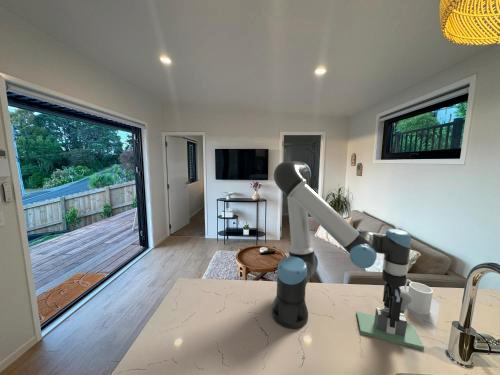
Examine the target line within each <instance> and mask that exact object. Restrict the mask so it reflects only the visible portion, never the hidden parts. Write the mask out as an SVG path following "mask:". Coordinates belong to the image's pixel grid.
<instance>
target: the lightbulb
mask: <svg viewBox="0 0 500 375" xmlns="http://www.w3.org/2000/svg"><path fill="white" fill-rule="evenodd" d="M400 289H401V293H400V297H402V298H403V300H402V303H401V311H400V313H403V314H404V315H405V310H406V309H407V307H408V306H407V305H408V304H410V302H411V296H410V294H409V293H408V290H407V291H405V290H404V289H403V288H400Z"/></svg>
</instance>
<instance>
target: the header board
mask: <svg viewBox="0 0 500 375" xmlns="http://www.w3.org/2000/svg"><path fill="white" fill-rule="evenodd" d="M356 318H357V323H358V329H359V334H361V335H365V336H368V337H369V336H370V337H372V338H377V339H379V340H384V341H387V342H392V343H396V344H399V345H404V346H407V347H410V348H414V349H419V350H422V351H424V350H425V345H424V343H423V342H422V340H421V338H420V336H419V335H418V333H417V330H416V328H415V326H414V325H413V324H412V323H408V322H407V326H406V333H405V336H401V335H397V334H395V335H394V334H390V333H386V331H382V330H378V329H376V325H375V322H374V320H375V314H370V313H365V312H361V311H356Z"/></svg>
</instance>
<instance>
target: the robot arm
mask: <svg viewBox="0 0 500 375" xmlns="http://www.w3.org/2000/svg"><path fill="white" fill-rule="evenodd" d="M311 178H312V171H311V168H310V167H309V165H308V164H306V163H305V162H303V161H300V160H299V161H298V160H293V161H291V160H290V161H289V160H287V161H282V162H280V163H278V165H277V166H276V167H275V168H274V171H273V180H274V183H275V184H276V186H277V187H278V189H279V190H280V191H281V192H282V193H283V194H284V195H285V196H286V198H287V199H286V200H287V206H288V207H287V209H288V218H289V219H288V221H289V230H290V231H289V234H290V242H291V243H290V244H291V245H290V246H289V247H288V257H287V256H286V257H283V258H282V259H281V260H280V261H279V262H278V265H277V270H276V274H277V278H276V280H277V281H276V295H275V297H274V301H273V303H272V306H271V317H272V319H273V320H274V321H275V322H276V323H277V324H278V325H280V326H281V327H284V328H286V329H300V328H302V327H304V326H305V325H307V323H308V320H309V311H308V306H307V303H306V288H307V284H308V282H309V281H310V280H311V278H312V277H313V275H314V274H315V273H316V271H317V269H318V265H319V260H318V256H317V254H316V253H315V248H314V247H313V246H312V245H311V236H310V225H309V216H310V217H311V218H312V219H314V220H315V222H317V224H319V226H320V227H321V228H322V229H324V231H326V232H327V233H328V234H329V235H330V236H331V238H333V239H334V240H335V241H336V242H337V243H338V244H339V245H340V246H341V247H342V248H343V249H344V250H345V251H346V252H347V253H348V254H349V258H350V261H351V262H352V263H353V264H354V265H355V266H356V267H358V268H360V269H368V268H371V267H373V266H374V264H375V262H376V260H377V258H378V257H377V256H378V255H377V254H380V255H381V254H382V255H383V262H382V270H381V272H382V274H381V278H382V281H384V284H383V293H382V294H383V296H382V302H383V306H384V308H383V309H385V310H389V316H388V315H386V316H387V326H386V333H390V334H394V335H395V329H396V321H397V322H399V319H400V311H401V303H402V300H403V298H402V297H400V293H401V289H402V288H401V287H404V285H406V280H407V279H408V275H407V274H408V269H409V268H410V265H409V261H410V260H409V259H410V255H411V254H410V253H411V246H412V245H411V244H412V243H411V241H412V240H411V239H412V235H411V234H410V233H409V232H407V231H405V230H404V229H403V230H402V229H397V228H389V229H387V230H386V232H385V233H380V232H374V231H369V230H363V229H356V228H354V227H353V225H351V224H350V223H349V222H348V221H347V220H346V219H345V218H344V217H343V216H341V215H340V214H339V213H338V212H337V211H336V210H335V209H334V208H333V207H332V206H331V205H330V204H329V203H327V201H326V200H324V199H323V198H322V197H321V196H320V195H318V193H317V192H315V191H314V190H313V189H312V188H311V187H310V180H311ZM406 286H407V285H406Z"/></svg>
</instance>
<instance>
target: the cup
mask: <svg viewBox="0 0 500 375" xmlns="http://www.w3.org/2000/svg"><path fill="white" fill-rule="evenodd" d="M408 284H409V285H408ZM407 285H408V290H407ZM403 288H404V289H403V290H405V291H407V292H408V293H409V294H410V296H411V302H410V304H408V305H407V306H406V307H408V309H409V310H411V311H412V312H414V313H417V314H419V315H425V316H426V315H429V314H430V312H431V307H432V306H431V305H432V300H433V293H434V290H433V289H432V288H431V287H430V286H428V285H426V284H423V283H421V282H418V281H417V282H415V281H412V280H410V279H408V278H407V280H406V285H404V286H403Z"/></svg>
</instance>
